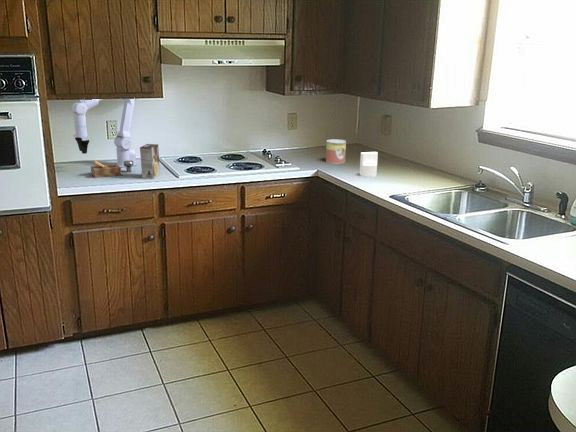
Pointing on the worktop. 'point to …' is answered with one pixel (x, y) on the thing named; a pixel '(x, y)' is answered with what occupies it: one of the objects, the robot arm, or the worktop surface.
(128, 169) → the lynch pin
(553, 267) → the worktop surface
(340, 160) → the canned food
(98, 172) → the hitch block
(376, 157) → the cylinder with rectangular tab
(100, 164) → the block
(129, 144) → the robot arm
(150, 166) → the coffee box
